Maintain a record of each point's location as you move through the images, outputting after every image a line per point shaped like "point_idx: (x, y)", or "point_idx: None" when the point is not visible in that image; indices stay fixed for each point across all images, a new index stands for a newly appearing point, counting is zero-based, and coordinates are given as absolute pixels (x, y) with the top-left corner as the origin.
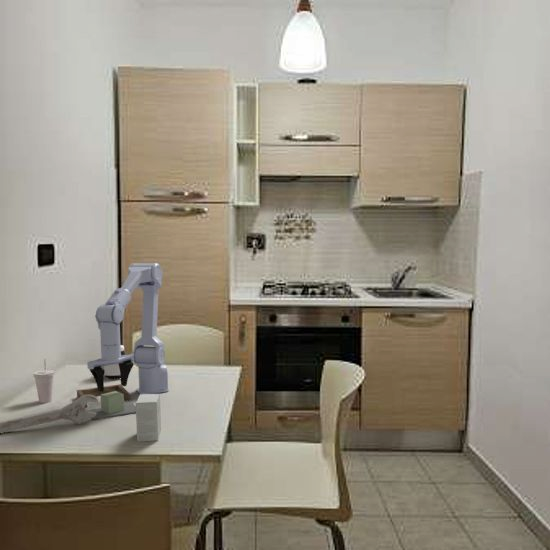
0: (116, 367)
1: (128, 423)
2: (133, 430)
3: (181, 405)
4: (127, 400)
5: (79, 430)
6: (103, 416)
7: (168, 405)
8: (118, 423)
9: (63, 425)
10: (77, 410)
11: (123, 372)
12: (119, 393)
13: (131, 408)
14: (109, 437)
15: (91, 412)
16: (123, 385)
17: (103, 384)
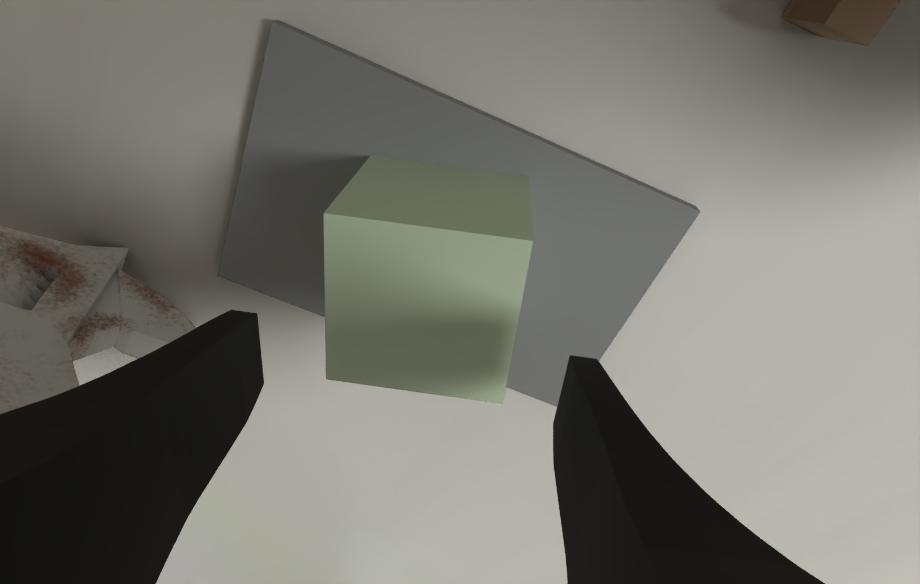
0: None
1: (374, 484)
2: (331, 563)
3: (853, 501)
4: (802, 26)
5: (85, 364)
6: (304, 304)
7: (816, 439)
8: (330, 444)
9: (3, 195)
10: (30, 305)
11: (584, 570)
12: (492, 353)
13: (573, 321)
14: (192, 545)
15: None
16: (558, 407)
17: (218, 463)
